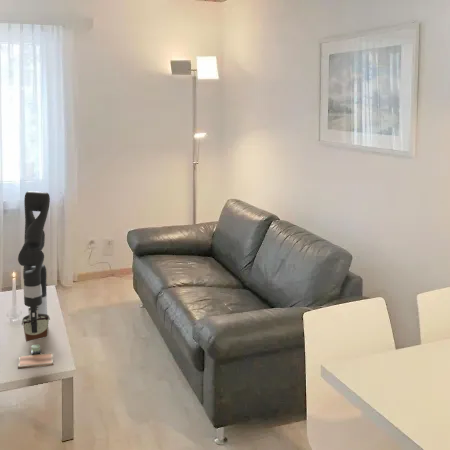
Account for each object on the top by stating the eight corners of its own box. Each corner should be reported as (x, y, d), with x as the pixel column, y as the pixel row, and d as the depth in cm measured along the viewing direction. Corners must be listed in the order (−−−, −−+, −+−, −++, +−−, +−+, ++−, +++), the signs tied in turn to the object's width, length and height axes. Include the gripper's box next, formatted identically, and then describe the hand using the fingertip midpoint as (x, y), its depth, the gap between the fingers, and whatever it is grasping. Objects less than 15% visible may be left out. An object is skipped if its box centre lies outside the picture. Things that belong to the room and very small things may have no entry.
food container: (45, 331, 264) (45, 311, 262) (50, 336, 259) (49, 315, 257) (18, 337, 257) (17, 316, 255) (22, 342, 252) (21, 321, 250)
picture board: (18, 357, 264) (18, 355, 263) (52, 354, 268) (52, 352, 268) (18, 368, 253) (18, 367, 253) (53, 364, 258) (53, 363, 258)
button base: (31, 351, 269) (31, 350, 269) (40, 350, 270) (40, 349, 270) (31, 355, 266) (31, 354, 265) (40, 354, 267) (40, 353, 267)
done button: (32, 348, 269) (31, 345, 268) (39, 347, 270) (39, 344, 269) (31, 351, 265) (31, 348, 265) (39, 350, 266) (39, 347, 266)
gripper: (24, 288, 259) (26, 323, 263) (23, 300, 245) (25, 336, 249) (41, 287, 261) (43, 322, 265) (42, 299, 248) (43, 334, 252)
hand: (34, 328), depth 257 cm, fingers closed on food container, 7 cm apart
